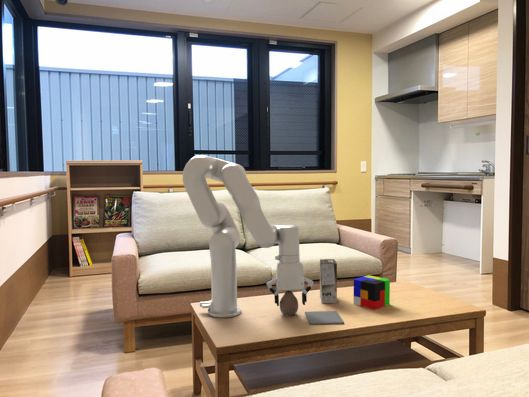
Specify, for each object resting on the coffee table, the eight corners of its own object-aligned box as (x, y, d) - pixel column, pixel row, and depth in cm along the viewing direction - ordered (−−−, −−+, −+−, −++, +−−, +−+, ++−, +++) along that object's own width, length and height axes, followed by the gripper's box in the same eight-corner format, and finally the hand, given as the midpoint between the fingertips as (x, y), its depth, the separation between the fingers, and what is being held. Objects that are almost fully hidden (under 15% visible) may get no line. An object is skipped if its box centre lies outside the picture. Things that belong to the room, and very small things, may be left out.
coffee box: (337, 303, 169) (337, 263, 168) (321, 303, 169) (321, 263, 168) (334, 296, 178) (334, 258, 177) (319, 296, 178) (319, 258, 177)
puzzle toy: (353, 304, 168) (353, 279, 167) (368, 299, 174) (368, 275, 174) (375, 310, 160) (375, 284, 160) (389, 304, 167) (389, 279, 166)
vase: (297, 318, 152) (297, 294, 151) (278, 317, 153) (278, 293, 153) (299, 312, 159) (299, 289, 158) (281, 311, 160) (281, 288, 159)
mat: (309, 324, 145) (309, 323, 145) (304, 313, 157) (304, 311, 157) (344, 323, 146) (344, 322, 146) (336, 312, 158) (336, 310, 158)
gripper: (266, 261, 150) (267, 308, 151) (314, 259, 151) (315, 306, 152) (265, 257, 158) (266, 302, 159) (311, 255, 159) (312, 300, 160)
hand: (290, 304), depth 156 cm, fingers open, 9 cm apart
